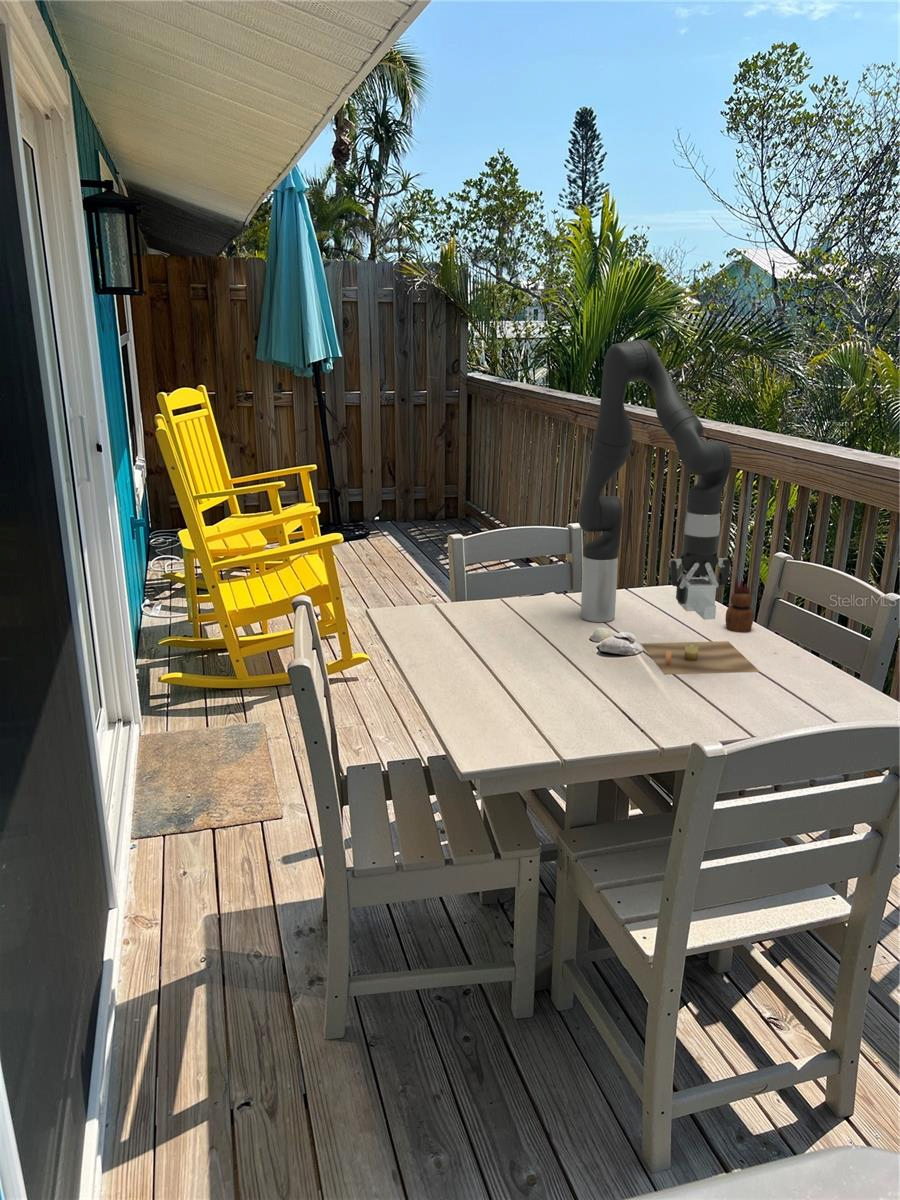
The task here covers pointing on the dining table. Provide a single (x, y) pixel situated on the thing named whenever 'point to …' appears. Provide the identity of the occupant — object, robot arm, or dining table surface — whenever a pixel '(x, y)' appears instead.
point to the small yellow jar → (691, 651)
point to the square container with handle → (700, 597)
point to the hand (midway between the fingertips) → (695, 602)
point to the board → (699, 658)
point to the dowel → (668, 658)
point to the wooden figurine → (740, 610)
